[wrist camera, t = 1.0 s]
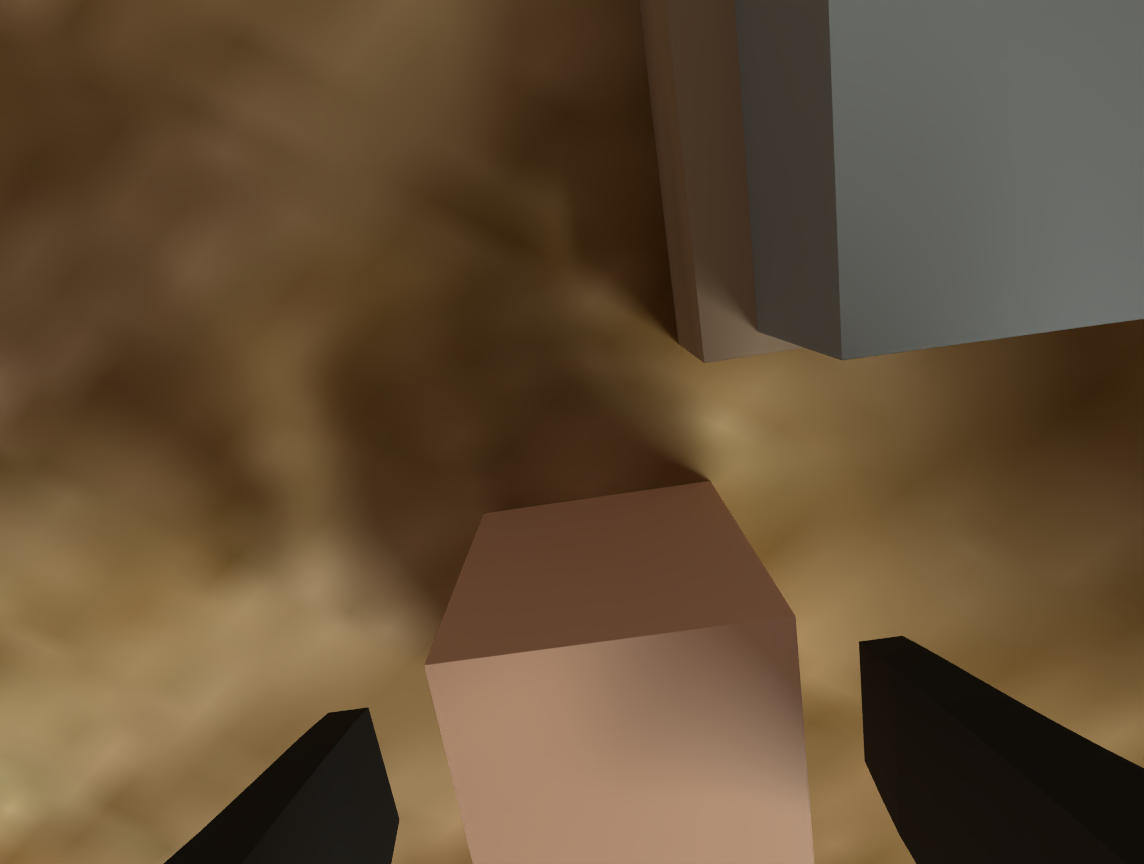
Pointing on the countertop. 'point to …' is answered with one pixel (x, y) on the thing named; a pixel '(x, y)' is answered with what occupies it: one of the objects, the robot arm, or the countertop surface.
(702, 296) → the base slab
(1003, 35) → the top slab
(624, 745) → the terracotta block
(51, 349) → the countertop surface
